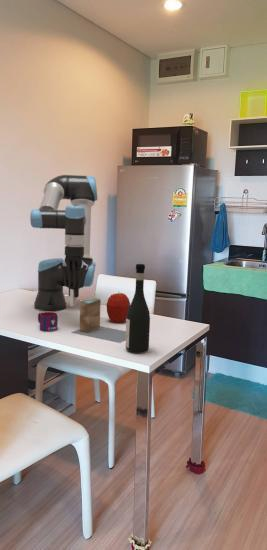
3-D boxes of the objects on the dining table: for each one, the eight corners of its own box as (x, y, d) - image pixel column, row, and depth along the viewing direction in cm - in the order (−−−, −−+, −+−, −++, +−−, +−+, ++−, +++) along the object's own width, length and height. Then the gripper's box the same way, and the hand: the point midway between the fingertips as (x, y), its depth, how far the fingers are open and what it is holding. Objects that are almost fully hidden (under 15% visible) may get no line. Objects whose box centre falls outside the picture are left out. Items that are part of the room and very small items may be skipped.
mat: (70, 333, 164) (70, 332, 164) (91, 325, 176) (91, 324, 176) (120, 344, 154) (120, 342, 154) (138, 335, 166) (138, 333, 166)
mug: (45, 334, 163) (45, 316, 162) (32, 328, 170) (32, 311, 169) (60, 331, 167) (60, 314, 166) (47, 325, 175) (48, 309, 173)
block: (79, 331, 166) (80, 301, 164) (91, 326, 173) (92, 297, 171) (88, 333, 164) (88, 302, 162) (99, 328, 171) (100, 299, 169)
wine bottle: (121, 351, 146) (124, 264, 141) (130, 345, 153) (133, 262, 149) (144, 355, 143) (148, 266, 139) (151, 348, 151) (155, 263, 146)
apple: (119, 318, 190) (120, 287, 188) (134, 323, 183) (135, 291, 181) (100, 321, 183) (101, 289, 181) (116, 327, 176) (117, 293, 174)
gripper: (55, 245, 167) (54, 304, 171) (82, 247, 161) (81, 309, 164) (67, 244, 173) (66, 301, 177) (93, 246, 167) (92, 305, 171)
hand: (73, 305), depth 171 cm, fingers closed
